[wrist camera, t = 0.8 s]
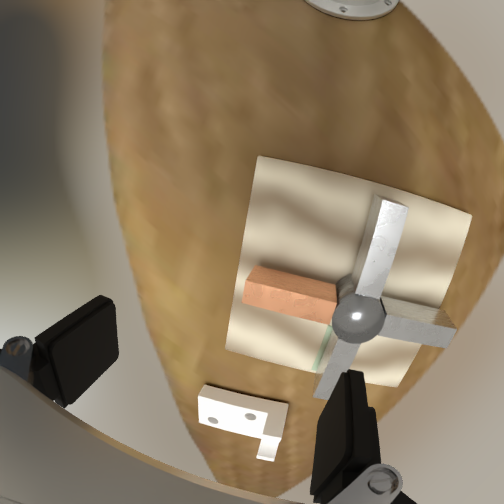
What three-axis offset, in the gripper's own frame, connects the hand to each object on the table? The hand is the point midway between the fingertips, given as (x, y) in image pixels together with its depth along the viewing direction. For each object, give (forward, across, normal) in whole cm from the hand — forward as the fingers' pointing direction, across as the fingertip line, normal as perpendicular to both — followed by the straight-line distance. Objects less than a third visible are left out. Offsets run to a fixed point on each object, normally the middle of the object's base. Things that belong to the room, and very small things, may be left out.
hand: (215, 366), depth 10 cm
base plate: (+23, -8, +4) cm, 24 cm away
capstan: (+21, -9, +4) cm, 23 cm away
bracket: (+24, 0, +28) cm, 37 cm away
